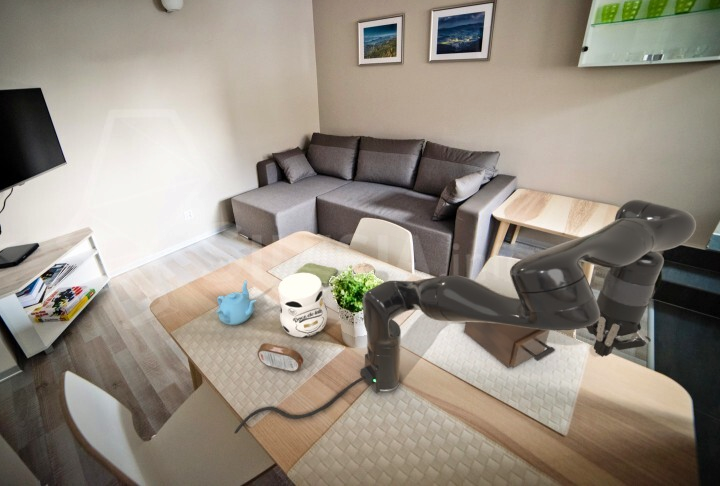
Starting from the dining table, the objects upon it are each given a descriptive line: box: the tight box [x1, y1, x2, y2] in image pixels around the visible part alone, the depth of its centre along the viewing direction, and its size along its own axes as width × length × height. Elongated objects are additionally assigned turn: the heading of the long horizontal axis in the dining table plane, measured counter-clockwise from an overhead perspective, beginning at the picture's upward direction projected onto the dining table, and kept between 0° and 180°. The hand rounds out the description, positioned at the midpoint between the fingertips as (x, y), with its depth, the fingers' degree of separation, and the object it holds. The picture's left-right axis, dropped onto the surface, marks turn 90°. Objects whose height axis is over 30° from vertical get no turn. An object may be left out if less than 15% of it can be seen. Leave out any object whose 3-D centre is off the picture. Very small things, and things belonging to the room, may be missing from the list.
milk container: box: [277, 272, 328, 339], centre depth 117 cm, size 17×17×18 cm
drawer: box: [510, 329, 555, 369], centre depth 102 cm, size 20×14×9 cm
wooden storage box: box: [463, 322, 540, 369], centre depth 105 cm, size 17×15×11 cm
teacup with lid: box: [352, 262, 376, 275], centre depth 137 cm, size 12×9×12 cm
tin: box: [257, 342, 304, 373], centre depth 103 cm, size 15×3×8 cm, turn 71°
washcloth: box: [293, 262, 339, 287], centre depth 148 cm, size 13×18×3 cm
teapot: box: [214, 280, 257, 326], centre depth 126 cm, size 15×15×10 cm
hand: (601, 353), depth 75 cm, fingers closed
